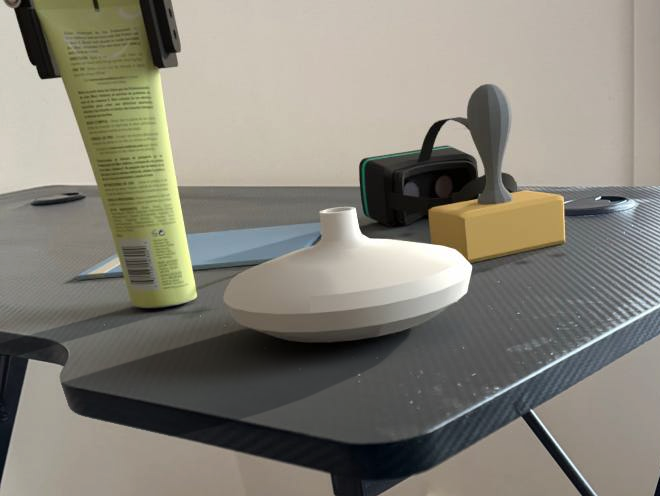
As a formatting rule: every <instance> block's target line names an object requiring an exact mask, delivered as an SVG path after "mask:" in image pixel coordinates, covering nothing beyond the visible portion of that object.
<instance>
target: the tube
mask: <svg viewBox="0 0 660 496" xmlns="http://www.w3.org/2000/svg"><path fill="white" fill-rule="evenodd" d="M33 3H34V7H35V10H36V14H37V16H38V19H39V21H40V24H41V26H42V28H43V30H44V33H45V35H46V38H47V40H48V43H49V45H50V48H51V50H52V53H53V56H54V58H55V61H56V64H57V67H58V69H59V72H60V75H61V78H60V79H61V80H62V83H63V86H64V89H65V91H66V94H67V95H66V96H67V98H68V100H69V104H70V107H71V109H72V112H73V115H74V118H75V122H76V124H77V128H78V130H79V133H80V136H81V139H82V142H83V145H84V148H85V152H86V155H87V158H88V161H89V164H90V167H91V171H92V173H93V176H94V180H95V183H96V185H97V189H98V193H99V196H100V200H101V202H102V203H101V204H102V206H103V210H104V212H105V216H106V219H107V223H108V226H109V229H110V233H111V236H112V239H113V242H114V247H115V251H116V254H118V257H119V261H120V264H121V268H122V271H123V274H124V276H123V278H124V282H125V285H126V288H127V289H126V290H127V292H128V295H129V299H130V303H131V304H132V306H133V307H137V308H141V309H159V308H161V309H162V308H168V307H173V306H178V305H183V304H187V303H189V302H191V301H194V300H196V298H197V297H198V293H197V292H198V291H197V286H196V280H195V277H194V276H195V275H194V270H192V265H191V260H190V254H189V249H188V244H187V238H186V234H187V233H186V228H185V223H184V216H183V210H182V206H181V201H180V193H179V189H178V182H177V177H176V171H175V165H174V158H173V152H172V147H171V141H170V135H169V128H168V121H167V115H166V108H165V101H164V94H163V86H162V79H161V71H160V69H158V67H155V66H154V63H153V60H152V55H151V51H150V47H149V42H148V38H147V34H146V29H145V25H144V21H143V17H142V12H141V8H140V3H139V0H33Z"/></svg>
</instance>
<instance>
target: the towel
mask: <svg viewBox="0 0 660 496" xmlns="http://www.w3.org/2000/svg"><path fill="white" fill-rule="evenodd" d="M320 236H322V229H321V222H319V221H318V222H317V221H316V222H307V223H298V224H296V223H295V224H285V225H276V226H275V225H274V226H265V227H264V226H263V227H254V228H252V227H251V228H242V229H231V230H221V231H210V232H197V233H188V234H187V233H186V238H187V244H188V249H189V254H190V260H191V265H192V270H193V271H197V270H207V269H208V270H210V269H219V268H221V269H222V268H231V267H242V266H252V265H253V266H254V265H255V266H256V265H260V264H262V263H265V262H268V261H270V260H273V259H275V258H278V257H280V256H283V255H286V254H288V253H291V252H294V251H297V250H300V249H303V248H306V247H310V246H313V244H314V243H315V242H316V241H317V240H318V239H319V238H320ZM119 277H124V274H123V271H122V268H121V264H120V261H119V257H118V254H117V253H115V254H113V255H112V256H111V255H110V256H109V257H107V258H106V259H104V260H102V261H100V262H98V263H97V264H95V265H93V266H91V267H89V268H87V269H86V270H84V271H83V272H81V273H79V274H76V279H77V281H83V280H95V279H105V278H108V279H109V278H119Z"/></svg>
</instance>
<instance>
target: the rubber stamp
mask: <svg viewBox="0 0 660 496" xmlns="http://www.w3.org/2000/svg"><path fill="white" fill-rule="evenodd" d="M466 119H467V121H468V126H469V130H470V131H469V130H468V131H469V133H470V136H471V139H472V141H473V143H474V146H475V148H476V151H477V152H478V155H479V157H480V160H481V163H482V167H483V170H484V169H485V172H484V175H485V174H486V186H485V189H484V191H483V192H482V194H479V198H478V199H476V200H470V201H465V202H459V203H454V204H448V205H443V206H437V207H433V208H431V209H430V210H429V215H428V222H429V232H430V241H431V243H430V244H432V245H440V246H445V247H448V248H452V249H455V250H457V251H458V252H459V253H460V254H462V256H463V257H464V258H465V259H466V260H467V261H468V262H469V263H470V264H474V263H477V262H482V261H486V260H491V259H497V258H501V257H505V256H510V255H515V254H519V253H525V252H529V251H533V250H538V249H542V248H548V247H552V246H556V245H557V246H558V245H561V244H565V243H566V230H565V229H566V226H565V225H566V224H565V223H566V222H565V200H564V199H565V198H564V196H562V195H561V194H556V193H548V192H541V191H535V190H527V189H526V190H525V189H524V190H521V191H517V192H514V193H509V191H508V190H507V189H506V188H505V187H504V185H503V183H502V178H501V172H502V167H503V161H504V156H505V153H506V149H507V145H508V143H509V142H508V141H509V137H510V133H511V128H512V119H513V117H512V107H511V102H510V100H509V98H508V96H507V93H506V92H505V91H504V90H503V89H502V88H501V87H500V86H498V85H497V84H496V85H495V84H493V83H485V84H482V85H479V86H478V87H477V88H475V90H474V91H473V92H472V93H471V95H470V97H469V99H468V102H467V106H466Z"/></svg>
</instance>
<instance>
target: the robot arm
mask: <svg viewBox="0 0 660 496" xmlns="http://www.w3.org/2000/svg"><path fill="white" fill-rule="evenodd" d="M2 1H3V4H5V5H6V6H7V7H8V8H11V9H13V11H14V14H15V17H16V21H17V24H18V28H19V32H20V34H21V37H22V42H23V45H24V48H25V52H26V54H27V58H28V60H29V62H30V64H31V65H32V66H33V67H35V69H36V72H37V75H38V77H39V78H40V80H42V81H43V80H52V79H62V78H61V75H60V72H59V69H58V67H57V64H56V61H55V58H54V56H53V53H52V50H51V48H50V45H49V43H48V40H47V38H46V35H45V33H44V30H43V28H42V26H41V24H40V21H39V19H38V16H37V14H36V10H35V7H34V3H33V0H2ZM139 3H140V8H141V12H142V17H143V21H144V25H145V29H146V34H147V38H148V42H149V47H150V51H151V55H152V60H153V63H154V66H155V67H158V69H159V70H160V69H170V68H178V66H179V60H178V55H177V54H178V53H182V52H181V51H182V45H181V40H180V39H181V38H180V35H179V30H178V26H177V21H176V17H175V11H174V7H173V1H172V0H139Z"/></svg>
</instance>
